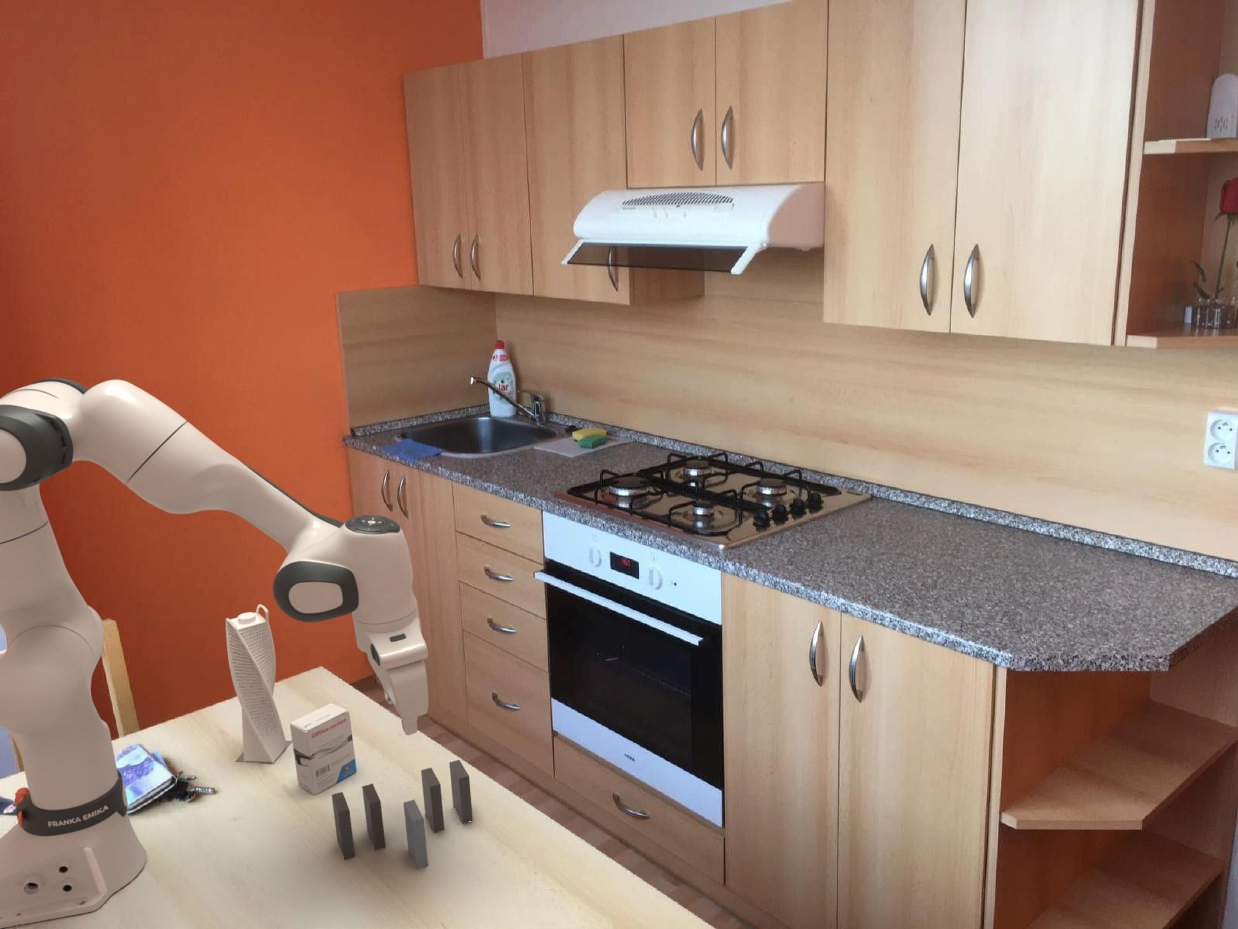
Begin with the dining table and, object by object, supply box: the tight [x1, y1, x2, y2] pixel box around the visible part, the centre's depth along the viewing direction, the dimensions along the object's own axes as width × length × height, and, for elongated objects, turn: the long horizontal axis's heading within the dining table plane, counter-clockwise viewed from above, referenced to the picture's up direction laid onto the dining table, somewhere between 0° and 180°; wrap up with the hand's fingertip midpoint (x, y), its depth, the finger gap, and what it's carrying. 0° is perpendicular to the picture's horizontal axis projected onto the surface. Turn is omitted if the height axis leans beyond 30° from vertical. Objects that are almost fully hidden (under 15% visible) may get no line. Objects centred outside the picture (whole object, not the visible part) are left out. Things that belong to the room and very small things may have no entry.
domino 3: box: [403, 799, 429, 870], centre depth 150 cm, size 2×5×8 cm, turn 25°
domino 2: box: [361, 783, 386, 852], centre depth 154 cm, size 2×5×8 cm, turn 25°
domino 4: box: [420, 767, 445, 834], centre depth 158 cm, size 2×5×8 cm, turn 25°
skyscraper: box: [225, 603, 293, 765], centre depth 175 cm, size 8×8×28 cm
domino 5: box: [449, 759, 474, 825], centre depth 160 cm, size 2×5×8 cm, turn 25°
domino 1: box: [331, 791, 356, 861], centre depth 152 cm, size 2×5×8 cm, turn 25°
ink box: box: [289, 702, 358, 796], centre depth 169 cm, size 8×5×12 cm, turn 141°
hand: (401, 716), depth 147 cm, fingers open, 8 cm apart
